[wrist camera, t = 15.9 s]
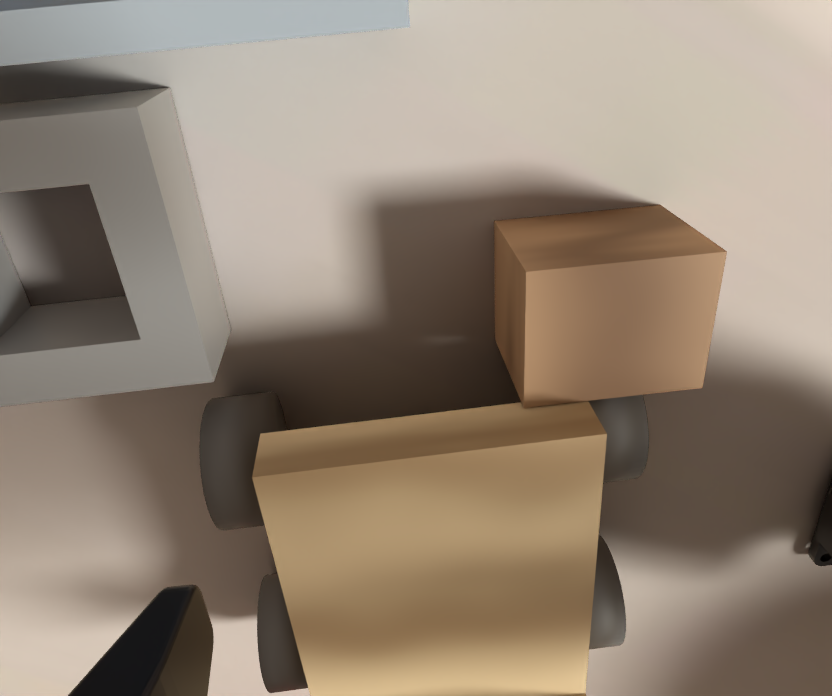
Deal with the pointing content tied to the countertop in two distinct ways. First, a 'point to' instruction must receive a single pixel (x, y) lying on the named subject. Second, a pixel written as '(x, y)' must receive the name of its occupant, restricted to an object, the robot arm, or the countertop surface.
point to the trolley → (428, 543)
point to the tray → (176, 24)
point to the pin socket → (131, 248)
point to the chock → (604, 303)
